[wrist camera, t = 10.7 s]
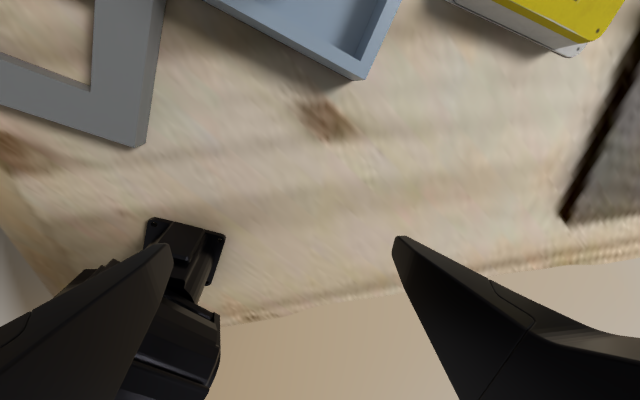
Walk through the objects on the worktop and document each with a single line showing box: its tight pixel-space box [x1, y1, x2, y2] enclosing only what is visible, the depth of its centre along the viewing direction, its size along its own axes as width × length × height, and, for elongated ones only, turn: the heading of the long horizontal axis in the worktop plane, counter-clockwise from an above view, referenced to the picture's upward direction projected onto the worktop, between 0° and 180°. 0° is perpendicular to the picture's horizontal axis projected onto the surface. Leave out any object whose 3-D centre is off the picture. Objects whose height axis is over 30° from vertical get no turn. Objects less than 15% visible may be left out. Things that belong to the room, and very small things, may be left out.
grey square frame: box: [0, 0, 166, 148], centre depth 13 cm, size 11×11×2 cm
